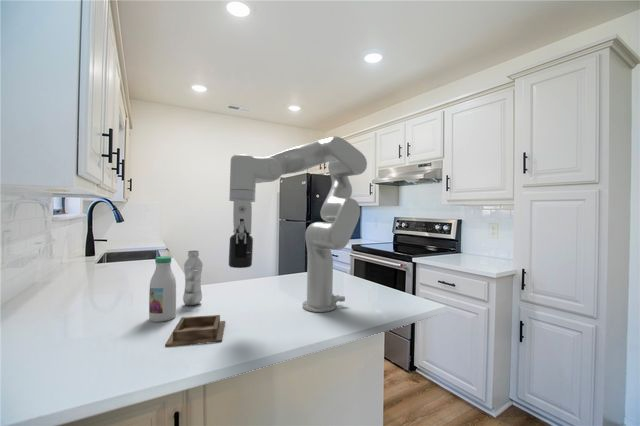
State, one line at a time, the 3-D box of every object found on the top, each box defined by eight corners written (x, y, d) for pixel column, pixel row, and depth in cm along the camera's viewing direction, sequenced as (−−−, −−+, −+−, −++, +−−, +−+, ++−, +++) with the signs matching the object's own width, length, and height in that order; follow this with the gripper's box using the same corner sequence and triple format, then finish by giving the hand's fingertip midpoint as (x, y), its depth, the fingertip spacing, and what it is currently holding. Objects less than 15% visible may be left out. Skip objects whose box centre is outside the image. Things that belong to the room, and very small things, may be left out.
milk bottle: (171, 312, 102) (171, 254, 102) (179, 318, 97) (180, 257, 96) (146, 317, 97) (146, 256, 97) (153, 324, 91) (153, 259, 91)
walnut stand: (225, 322, 94) (225, 312, 94) (221, 341, 80) (221, 330, 80) (177, 326, 90) (177, 316, 90) (165, 346, 77) (165, 334, 77)
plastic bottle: (178, 305, 109) (179, 251, 109) (193, 300, 115) (193, 249, 115) (192, 308, 107) (192, 252, 106) (206, 303, 113) (206, 250, 113)
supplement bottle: (246, 269, 85) (247, 227, 85) (224, 267, 86) (225, 226, 86) (255, 265, 92) (256, 226, 92) (235, 263, 93) (236, 225, 93)
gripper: (256, 195, 82) (254, 260, 82) (254, 198, 99) (252, 252, 98) (228, 194, 80) (226, 260, 80) (230, 197, 97) (228, 252, 97)
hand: (240, 255), depth 89 cm, fingers closed on supplement bottle, 6 cm apart
